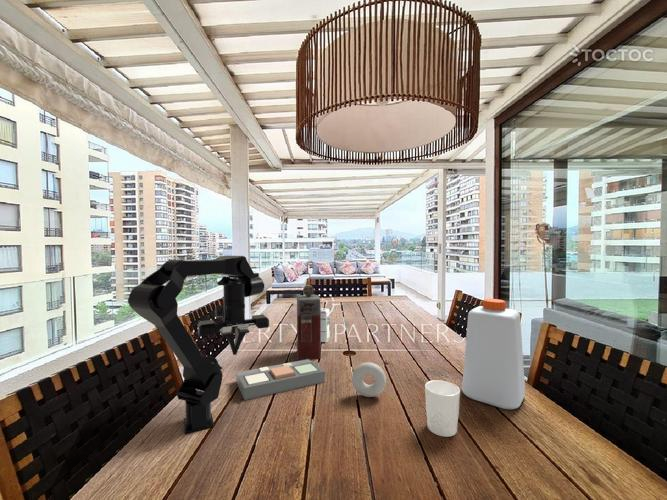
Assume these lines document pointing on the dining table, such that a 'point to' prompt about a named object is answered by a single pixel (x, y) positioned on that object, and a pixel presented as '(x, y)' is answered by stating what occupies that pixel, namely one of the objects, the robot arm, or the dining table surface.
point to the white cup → (442, 407)
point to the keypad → (278, 380)
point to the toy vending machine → (308, 325)
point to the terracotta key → (281, 372)
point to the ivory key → (256, 379)
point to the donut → (365, 388)
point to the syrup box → (325, 325)
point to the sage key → (305, 369)
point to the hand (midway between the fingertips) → (234, 354)
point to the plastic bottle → (494, 356)
